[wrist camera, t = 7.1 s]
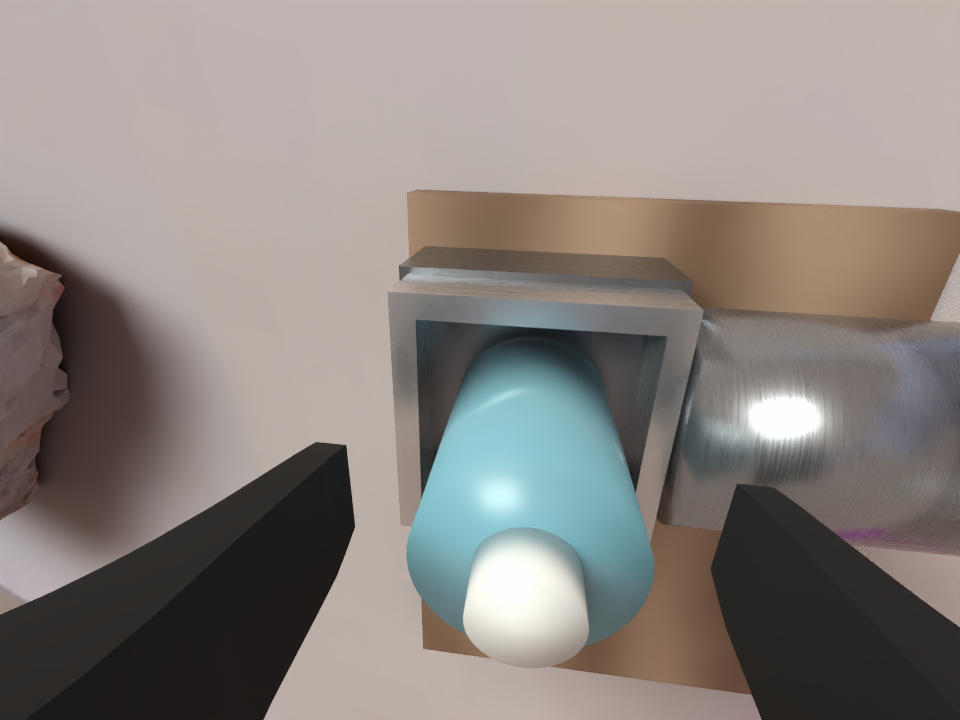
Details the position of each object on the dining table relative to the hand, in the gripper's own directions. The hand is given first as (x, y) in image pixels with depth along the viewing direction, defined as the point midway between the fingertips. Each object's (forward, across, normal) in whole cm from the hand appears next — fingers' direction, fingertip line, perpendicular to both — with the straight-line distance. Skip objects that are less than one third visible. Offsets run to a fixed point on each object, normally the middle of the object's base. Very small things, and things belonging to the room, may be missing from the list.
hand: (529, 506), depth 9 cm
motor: (+7, -4, 0) cm, 8 cm away
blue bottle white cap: (+4, 0, 0) cm, 4 cm away
